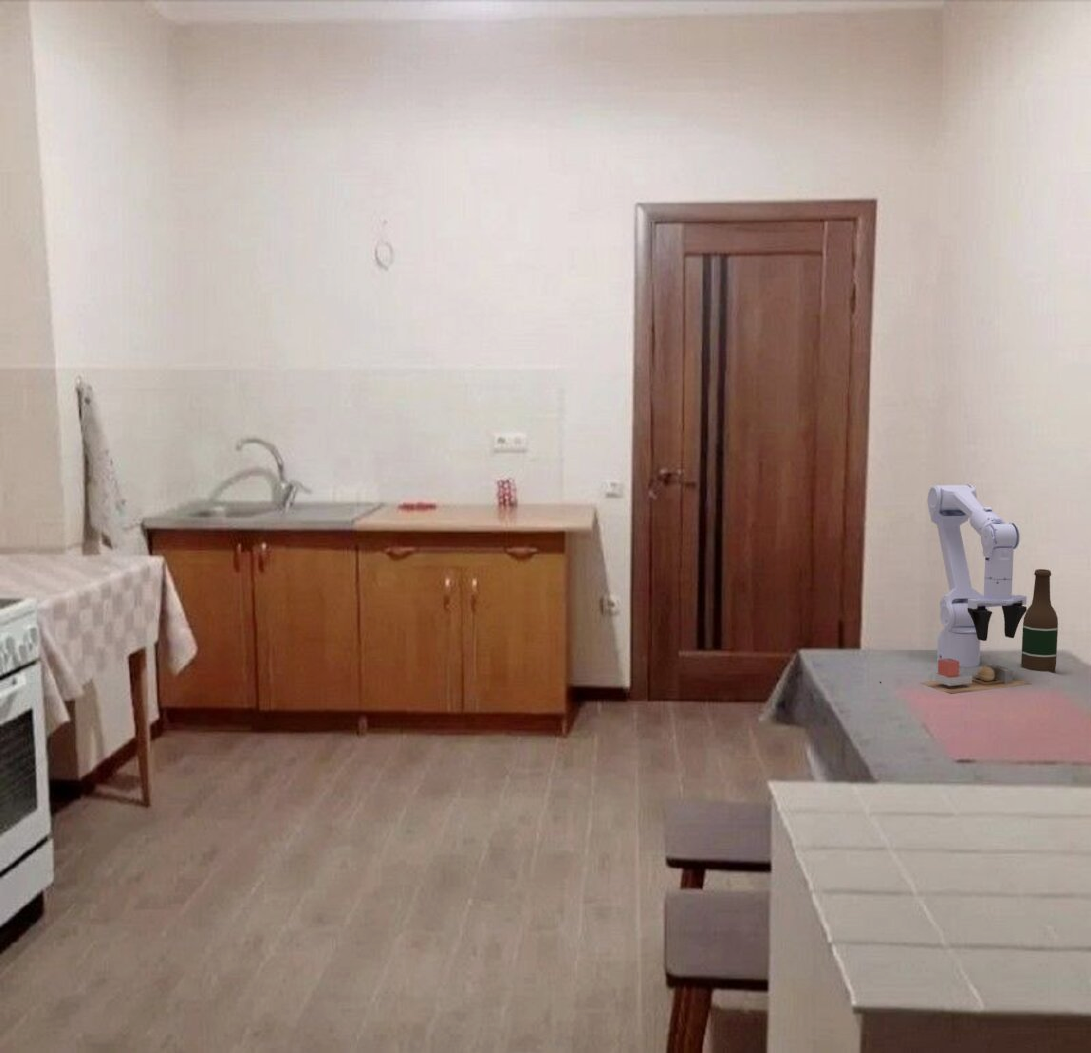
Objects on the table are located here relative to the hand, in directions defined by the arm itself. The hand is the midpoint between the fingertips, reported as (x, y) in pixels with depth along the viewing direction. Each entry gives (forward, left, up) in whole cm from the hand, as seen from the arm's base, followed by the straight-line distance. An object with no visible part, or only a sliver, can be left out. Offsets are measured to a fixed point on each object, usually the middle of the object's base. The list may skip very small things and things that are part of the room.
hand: (995, 638), depth 244 cm
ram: (+1, -13, -8) cm, 15 cm away
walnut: (+1, -3, -9) cm, 10 cm away
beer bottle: (-5, +17, -10) cm, 21 cm away
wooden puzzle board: (+1, -7, -10) cm, 12 cm away
